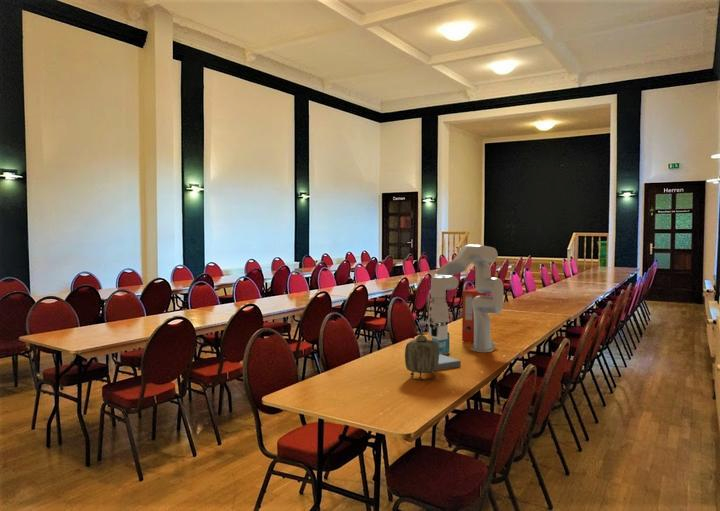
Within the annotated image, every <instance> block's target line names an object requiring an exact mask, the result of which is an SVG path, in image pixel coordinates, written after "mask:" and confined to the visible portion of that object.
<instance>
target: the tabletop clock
mask: <svg viewBox="0 0 720 511" xmlns="http://www.w3.org/2000/svg"><path fill="white" fill-rule="evenodd" d="M418 328H424V329H426V330H427V332H425V333H423V331H420V332H417V331H416V329H418ZM413 330H414V333H415V334H417V335H418V336H416V338H415V339H412V340H409V341H408V343H406V345H405V349H404V363H405V368H406V370H408V371H409V372H410V376H412V377H413V376H414V375H415V373H418V374H419V376H418V380H420V381H422V380H423V377H422V374H431V377H432V378H433V379H435V378H436V374H434V373H433V372H434V371H435V369H436V368H437V366H438V362H439V349H438V345H437V342H435V341H432V339H427V338H428V337H427V336H425V335H427V334H428V335H429V327H426V326H424V325H417V326H416V327H414V329H413Z"/></svg>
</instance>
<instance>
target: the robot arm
mask: <svg viewBox="0 0 720 511" xmlns="http://www.w3.org/2000/svg"><path fill="white" fill-rule="evenodd" d="M497 259H498V251H497V249H496V248H495V247H492V246H487V245H482V244H466V245H464V246H462V247H461V249H460V250H459V251H458V253H457V254H456V256H455V257H454V259H453V260H451V261H449V262H447V263H445V264H443V265H442V266H440V267H439V268H438V269H437V270H436V271H435V272H434V273H433V276H432V277H431V278H430V298H429V302H430V303H429V306H428V307H429V308H428V318H427V320H425V321H426V322H425V324H427V325H428V327H429V326H430V328H431V335H432V336H434V337H436V329H435V327H436V323H440V324H444V325H448V324H449V323H450V322H451V319H450V318H449V317H450V315H449V314H450V313H449V306H448V303H447V301H446V300H447V297H446V296H447V292H446V291H448V290H449V291H452V290H455V289H457V287H458V286H459V280H458V278H457V276H455V275H457V274H460V273H463V272H465V271H466V270H467V269H468V267H469V266H470V264H471V263H472V264H473V266H474V268H475V280H474V281H475V283H474V284H475V285H474V286H475V288H476V291H477V292H479V293H485V294H486V296H476V297H474V299H473V301H472V307H473V313H474V344H473V346H471V348H470V350H471V351H472V350H473V351H472V352H475V351H476V352H477V353H491V352H493V351H494V348H493V346H494V347H495V346H497V345H498V343H497V341H496V342H492V341H491V340H492V339H491V338H492V335H491V334H492V329H491V328H492V327H491V326H492V321H491V320H492V319H491V316H490V315H489V314H494V315H498V314H500V313H501V312H502V311H503V308H504V282H503V281H502V279H500V278H499V277H492V274H491V272H492V270H491V266H490V264H489V263H494V262H496V261H497ZM489 295H491V296H489Z"/></svg>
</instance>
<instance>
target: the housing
mask: <svg viewBox="0 0 720 511" xmlns="http://www.w3.org/2000/svg"><path fill="white" fill-rule="evenodd" d="M435 329H436V337H434V336H432V335H431V328H430V326H429V325H428V330H429V332H428V337H429V338H431V339H432V338H434V339H438V340H444V339H447V337H448V332H449V331H448V324H447V325H444V324H441V323H436V327H435Z"/></svg>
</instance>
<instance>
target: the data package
mask: <svg viewBox="0 0 720 511" xmlns="http://www.w3.org/2000/svg"><path fill="white" fill-rule="evenodd" d="M431 340H432V341H435V342H437V345H438V349H439V355H440V354H442V355H443V354H444V355H446V354H445V353H447V354H449V353H448V352H450V332H449V331H448V337H447V339H444V340H438V339H434V338H431Z"/></svg>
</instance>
